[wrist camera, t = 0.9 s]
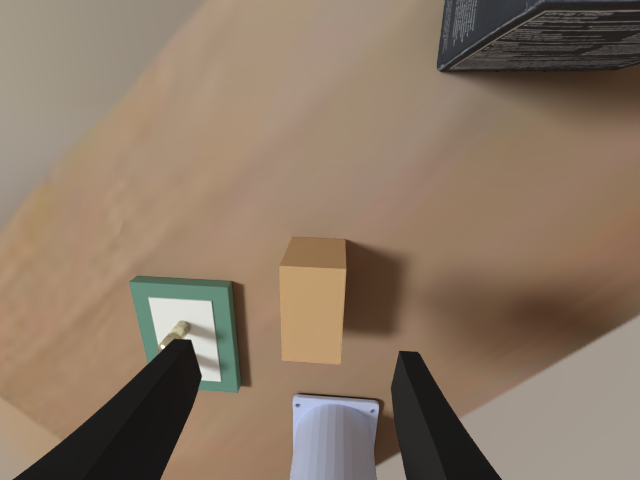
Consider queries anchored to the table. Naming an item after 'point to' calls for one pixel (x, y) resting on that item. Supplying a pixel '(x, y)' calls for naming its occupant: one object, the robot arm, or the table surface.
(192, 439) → the table surface
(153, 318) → the board
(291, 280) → the block
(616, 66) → the small box
